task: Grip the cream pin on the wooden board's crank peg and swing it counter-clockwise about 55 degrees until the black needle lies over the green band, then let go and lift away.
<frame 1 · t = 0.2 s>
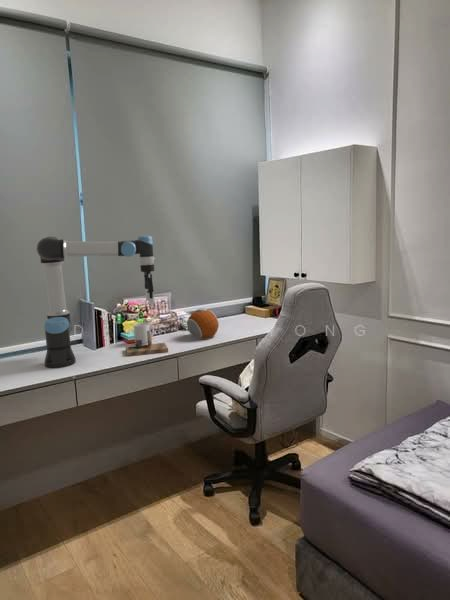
hand: (149, 302, 266), 26 cm above the table, fingers open, 13 cm apart
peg: (139, 339, 263), point 7 cm above the table, hinge at 0.0°
mug: (145, 342, 283), on the table
wooden board: (146, 351, 264), on the table
orange ball: (203, 336, 292), on the table
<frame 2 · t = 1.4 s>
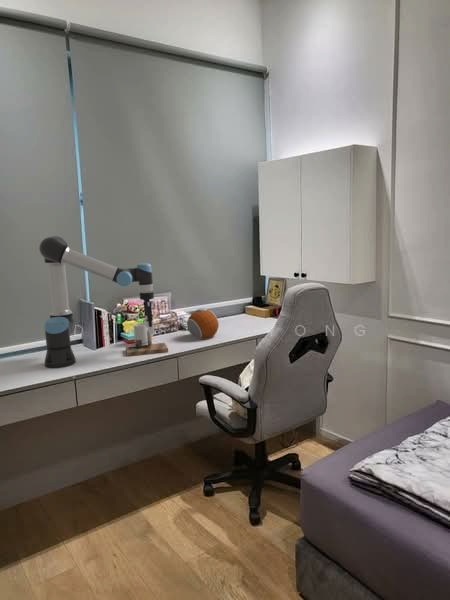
hand: (149, 329, 264), 12 cm above the table, fingers open, 13 cm apart
nothing on the table moved.
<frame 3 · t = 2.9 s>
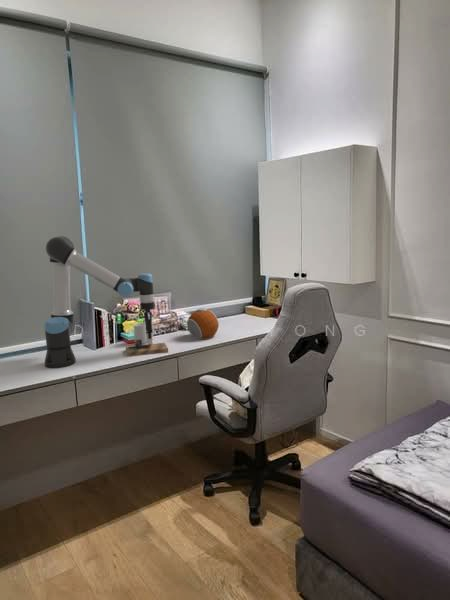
hand: (149, 343, 265), 4 cm above the table, fingers closed on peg, 2 cm apart
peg: (139, 339, 263), point 7 cm above the table, hinge at 0.0°, touching gripper
everything else where it was.
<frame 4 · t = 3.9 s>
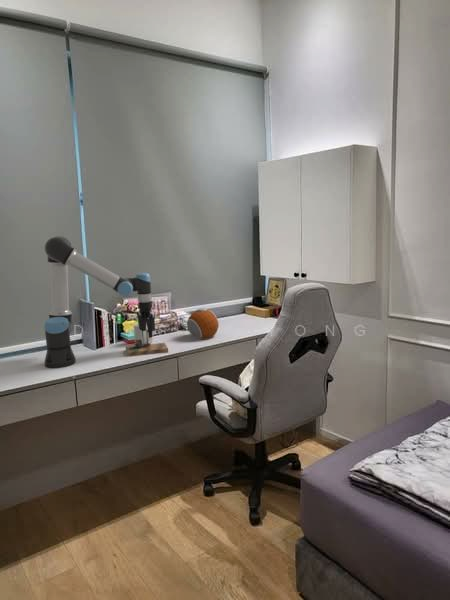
hand: (147, 342, 267), 4 cm above the table, fingers open, 3 cm apart
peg: (139, 339, 263), point 7 cm above the table, hinge at 20.9°, touching gripper
everything else where it was.
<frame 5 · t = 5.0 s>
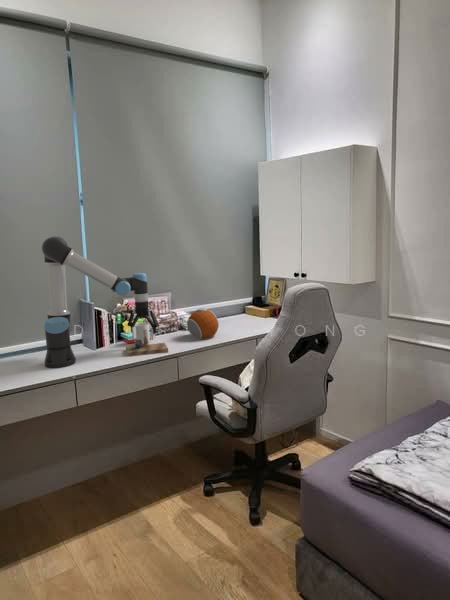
hand: (144, 338, 269), 6 cm above the table, fingers open, 11 cm apart
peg: (139, 339, 263), point 7 cm above the table, hinge at 44.2°
everything else where it was.
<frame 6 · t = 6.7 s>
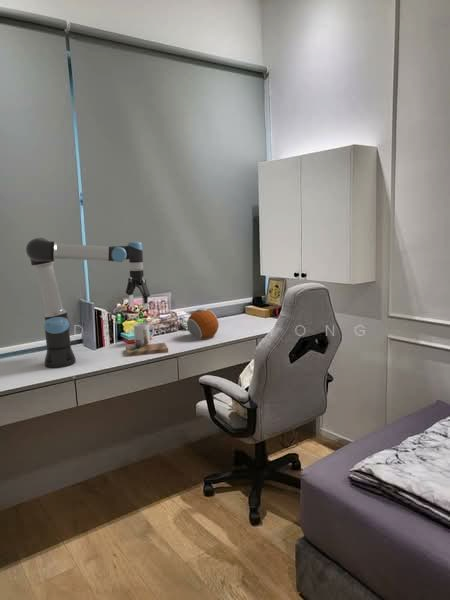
hand: (138, 307, 267), 23 cm above the table, fingers open, 13 cm apart
nothing on the table moved.
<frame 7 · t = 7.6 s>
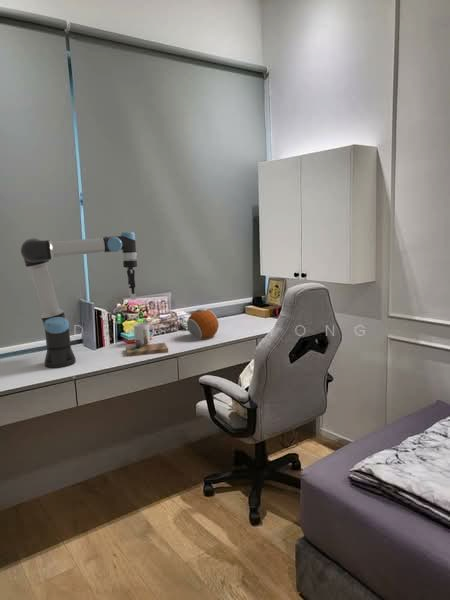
hand: (132, 297, 268), 29 cm above the table, fingers open, 13 cm apart
nothing on the table moved.
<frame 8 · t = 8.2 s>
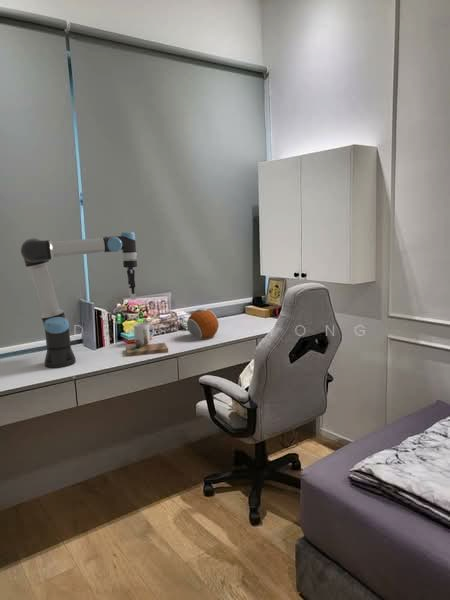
hand: (132, 297, 268), 29 cm above the table, fingers open, 13 cm apart
nothing on the table moved.
at the end: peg at +44° (first picture: +0°); the gripper is holding nothing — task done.
